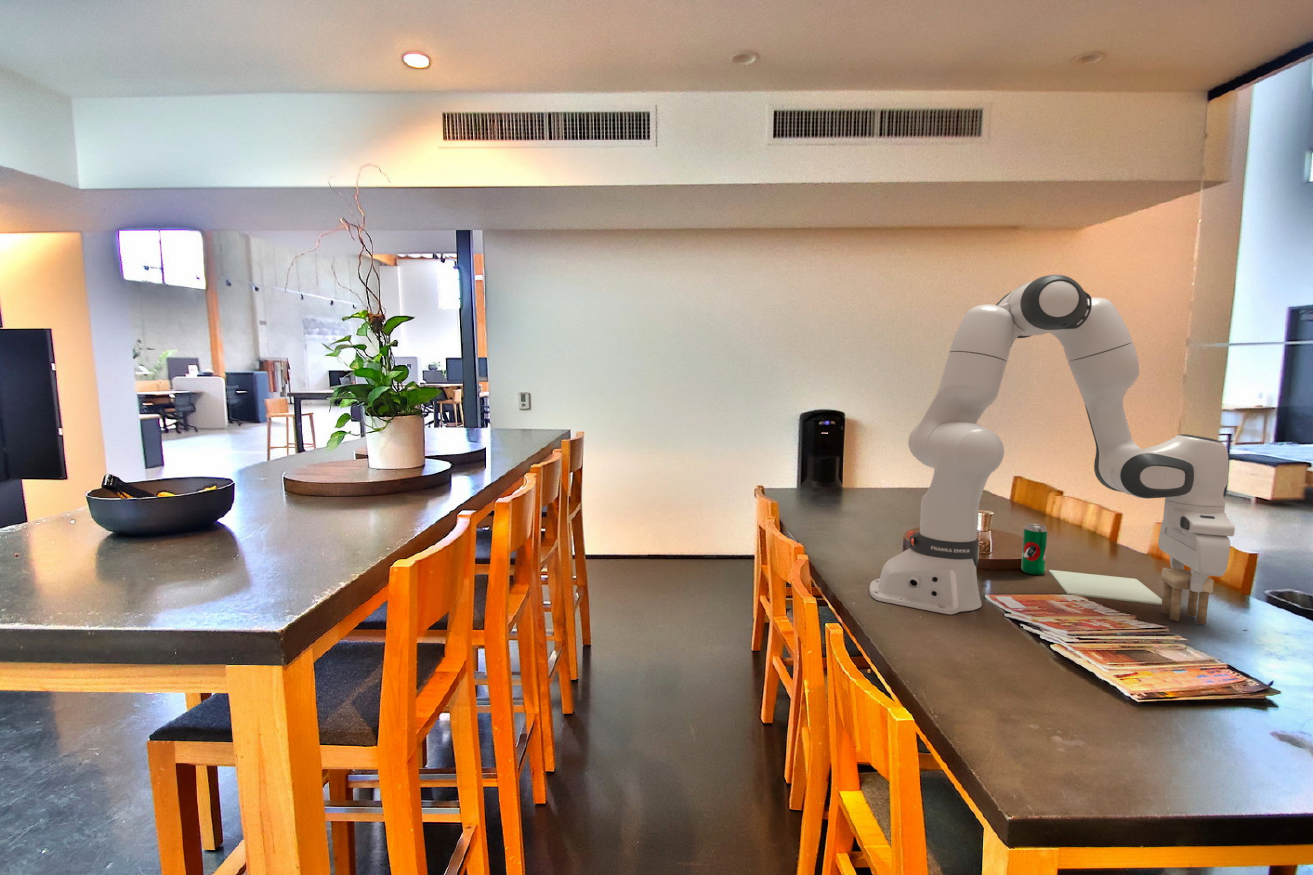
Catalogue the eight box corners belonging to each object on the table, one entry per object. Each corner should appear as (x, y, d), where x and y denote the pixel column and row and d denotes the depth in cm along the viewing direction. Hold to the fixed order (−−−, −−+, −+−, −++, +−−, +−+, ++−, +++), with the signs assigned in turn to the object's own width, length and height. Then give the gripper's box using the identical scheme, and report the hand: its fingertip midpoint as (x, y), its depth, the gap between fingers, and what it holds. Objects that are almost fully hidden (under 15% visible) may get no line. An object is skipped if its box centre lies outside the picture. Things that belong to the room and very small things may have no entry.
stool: (1170, 620, 118) (1174, 575, 117) (1158, 609, 123) (1162, 567, 122) (1209, 625, 115) (1213, 580, 114) (1194, 614, 121) (1199, 571, 120)
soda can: (1048, 576, 146) (1051, 528, 145) (1025, 575, 147) (1028, 527, 146) (1039, 570, 151) (1042, 523, 150) (1017, 568, 152) (1020, 522, 151)
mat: (1067, 594, 133) (1067, 592, 133) (1048, 571, 150) (1048, 569, 150) (1167, 605, 127) (1167, 604, 127) (1136, 580, 143) (1136, 578, 143)
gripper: (1152, 505, 128) (1146, 568, 129) (1196, 526, 109) (1188, 598, 110) (1189, 508, 126) (1183, 572, 127) (1240, 529, 107) (1232, 604, 108)
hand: (1186, 584), depth 119 cm, fingers closed on stool, 6 cm apart
